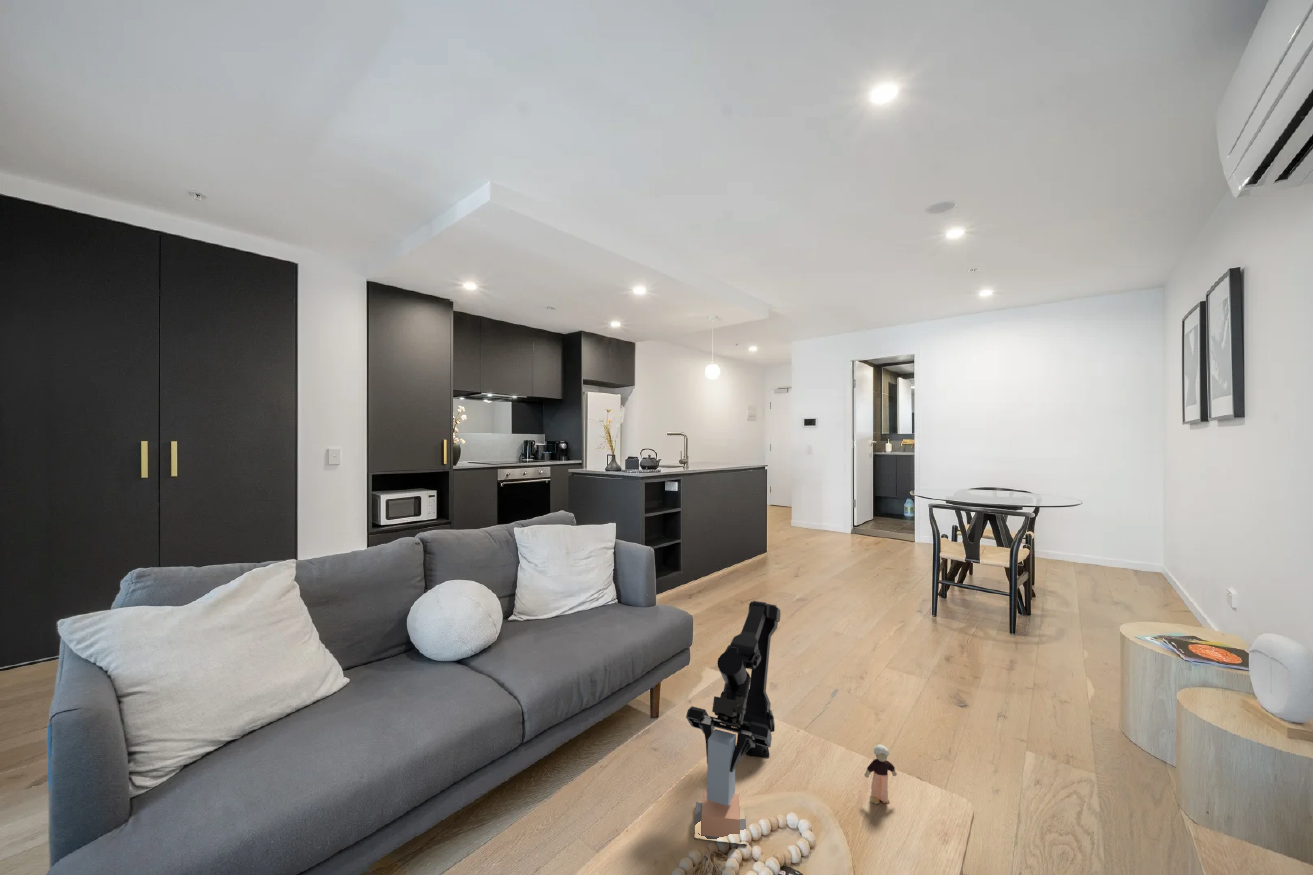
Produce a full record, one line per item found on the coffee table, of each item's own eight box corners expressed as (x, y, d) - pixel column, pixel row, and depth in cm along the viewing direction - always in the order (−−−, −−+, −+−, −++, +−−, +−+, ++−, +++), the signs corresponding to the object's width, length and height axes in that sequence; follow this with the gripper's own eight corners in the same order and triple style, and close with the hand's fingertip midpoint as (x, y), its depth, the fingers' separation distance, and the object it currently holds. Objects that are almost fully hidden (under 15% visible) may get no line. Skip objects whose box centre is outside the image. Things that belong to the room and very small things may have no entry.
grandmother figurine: (873, 807, 116) (873, 751, 116) (862, 796, 119) (862, 742, 120) (900, 802, 118) (901, 747, 118) (889, 792, 121) (889, 738, 122)
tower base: (696, 806, 115) (696, 783, 115) (744, 811, 113) (745, 789, 113) (693, 838, 105) (694, 814, 105) (747, 845, 103) (747, 820, 104)
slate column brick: (713, 786, 112) (715, 728, 112) (734, 792, 109) (735, 734, 110) (706, 799, 107) (707, 739, 108) (728, 806, 105) (729, 745, 106)
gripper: (689, 670, 117) (669, 742, 106) (769, 688, 109) (756, 768, 99) (700, 691, 124) (682, 760, 113) (776, 709, 116) (765, 785, 105)
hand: (719, 768), depth 107 cm, fingers closed on slate column brick, 5 cm apart
